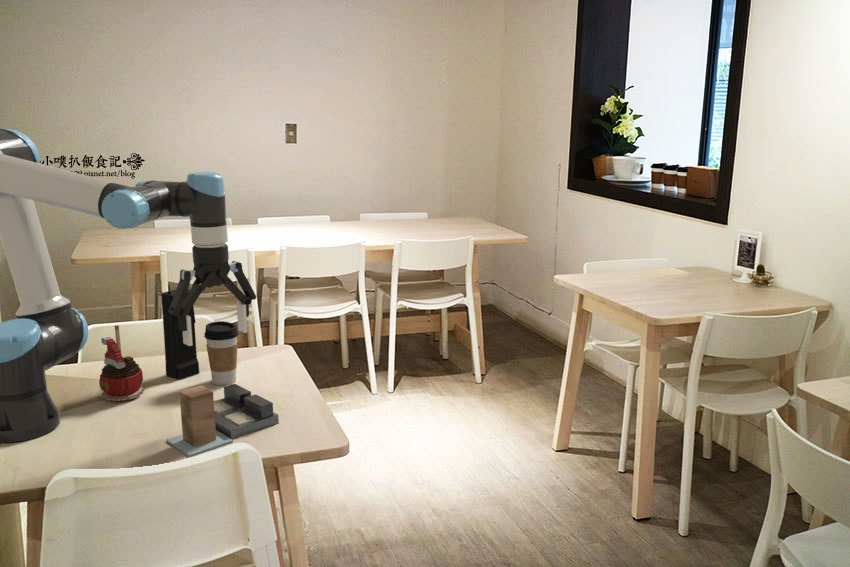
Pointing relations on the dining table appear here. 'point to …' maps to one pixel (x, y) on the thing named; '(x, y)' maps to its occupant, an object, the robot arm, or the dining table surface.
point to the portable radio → (178, 342)
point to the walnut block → (197, 415)
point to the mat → (192, 451)
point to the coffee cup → (222, 351)
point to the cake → (119, 372)
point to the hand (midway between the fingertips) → (216, 337)
